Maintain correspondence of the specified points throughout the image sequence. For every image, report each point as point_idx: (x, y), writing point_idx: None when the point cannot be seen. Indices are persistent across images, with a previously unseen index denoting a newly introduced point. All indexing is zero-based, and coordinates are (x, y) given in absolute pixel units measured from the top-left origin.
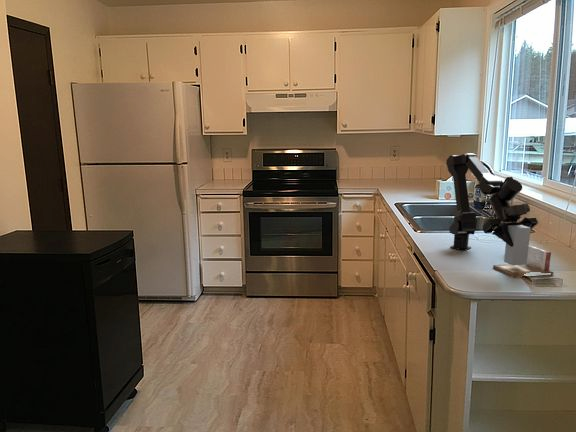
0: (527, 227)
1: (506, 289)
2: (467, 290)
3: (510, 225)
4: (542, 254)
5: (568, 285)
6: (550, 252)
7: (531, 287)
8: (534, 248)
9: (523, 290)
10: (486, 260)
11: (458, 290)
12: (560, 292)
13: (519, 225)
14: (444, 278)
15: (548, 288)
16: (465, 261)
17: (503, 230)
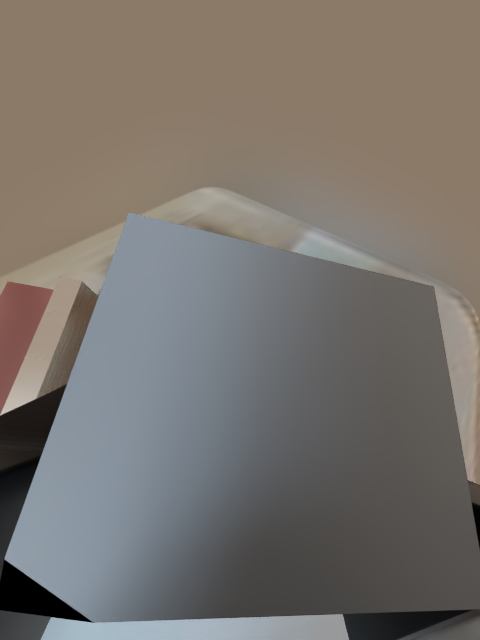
0: (168, 261)
1: (356, 266)
2: (447, 298)
3: (421, 603)
4: (90, 299)
5: (157, 215)
6: (15, 283)
7: (281, 249)
8: (48, 374)
9: (319, 243)
10: (179, 631)
11: (466, 306)
12: (238, 196)
13: (153, 545)
14: (473, 401)
15: (242, 225)
16: (307, 629)
17: (474, 484)
